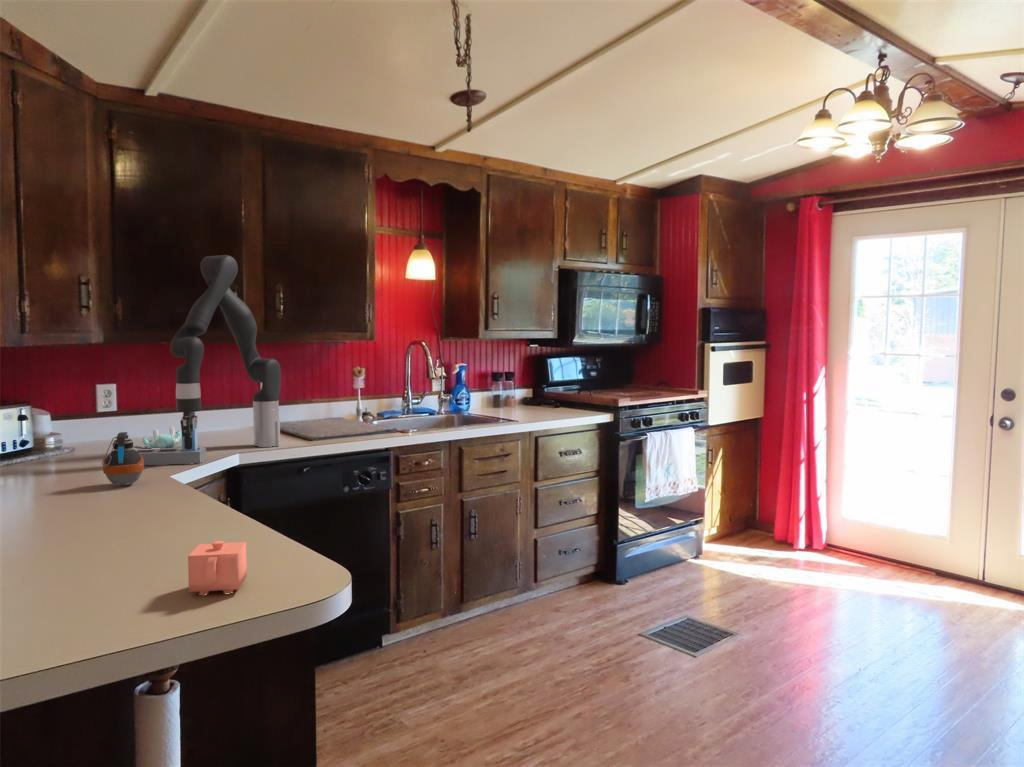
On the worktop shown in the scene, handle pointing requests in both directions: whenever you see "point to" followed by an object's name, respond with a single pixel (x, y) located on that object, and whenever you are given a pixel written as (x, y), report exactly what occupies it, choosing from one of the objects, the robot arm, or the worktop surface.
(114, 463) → the grenade
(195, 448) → the plug
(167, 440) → the figurine
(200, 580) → the pink cube teapot
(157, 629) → the worktop surface
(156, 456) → the panel
